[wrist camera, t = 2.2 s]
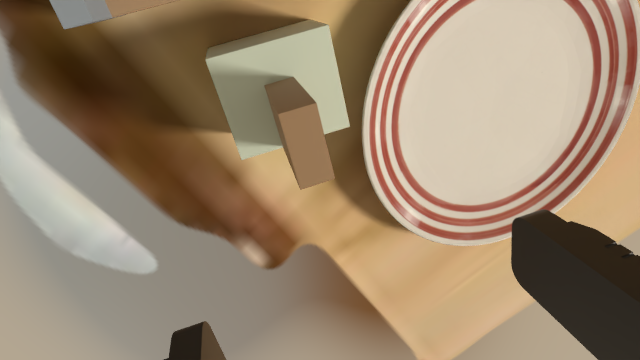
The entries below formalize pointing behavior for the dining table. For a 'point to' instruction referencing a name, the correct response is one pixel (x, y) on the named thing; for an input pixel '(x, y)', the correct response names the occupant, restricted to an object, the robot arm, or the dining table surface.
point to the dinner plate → (496, 110)
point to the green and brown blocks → (282, 95)
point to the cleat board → (98, 10)
